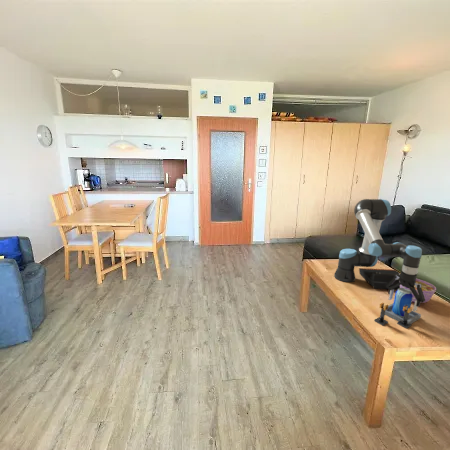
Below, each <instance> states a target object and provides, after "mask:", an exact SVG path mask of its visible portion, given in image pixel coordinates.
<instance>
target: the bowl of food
mask: <svg viewBox="0 0 450 450" xmlns="http://www.w3.org/2000/svg"><path fill="white" fill-rule="evenodd" d="M399 282H400V281H399ZM415 282H416V283H417V284H421V285H422V287H421V288H422V291H423V294H424V297H425V301H424V302H421V303H428V302H430V300H431V299H432V297H433V296H434V294H435V292H436V291H437V287H436V286H435V285H434V284H432V283H430V282H428V281H425V280H424V279H423V280H422V279H419V278H416V281H415ZM414 287H415V289H416V291H417V287H416V286H415V285H414ZM400 288H405V289H408V290H410V289H409V288H406V287H403V286H402V285H400ZM410 291H411V290H410ZM411 292H412V291H411ZM417 293H418V291H417ZM412 295H413V293H412ZM418 295H419V294H418ZM415 301H416V298H415V296H414V295H413V297H412V302H411V303H415ZM421 303H420V304H421Z"/></svg>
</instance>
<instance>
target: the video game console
mask: <svg viewBox="0 0 450 450" xmlns="http://www.w3.org/2000/svg"><path fill="white" fill-rule="evenodd" d="M358 271H359V275H360V276H362V277H363V279H364V280H366V282H367V283H368V284H370V286H371V287H372V288H373V289H378V290H379V289H380V290H389V289H388V288H387V287H386V285H387V284H388V283H389V282H390V281H391V280H392V279H393V278H394V276H396V275H398V277H400V275H401V272H399V271H397V269H387V268H368V267H359V268H358ZM398 283H400V282H399V279H398V280H396V281H395V282H394V283H393V284H392V285H391V287H392V286H394V285H396V284H398ZM398 288H400V285H399V286H397V287H395V288H393V290H395V291H397V290H398Z"/></svg>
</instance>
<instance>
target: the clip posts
mask: <svg viewBox="0 0 450 450" xmlns="http://www.w3.org/2000/svg"><path fill="white" fill-rule="evenodd" d="M389 305H390V304H385V302H382V303H379V309H380V315H379V317H377V318H375V319H374V322H375V323H377V324H379V325H381V326H385V325H388V324H389V321H388V320H386V319H385V316H386V315H385V310H387V309H388V306H389ZM407 307H408V306H407V305H405V306H403V311H405V313H404V317H403V322H402V321H399V322H398V321H396V322H397V323H396V324H397V325H399V327H400V326H401V327H402V328H404V329H406V330H407V329H409V328H410V327H412V324H413V323H412V324H407V320H408V315H409V313H410V312H412V311H413V307H412V306H411V307H410V308H408V310H407Z"/></svg>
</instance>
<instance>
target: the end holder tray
mask: <svg viewBox="0 0 450 450" xmlns="http://www.w3.org/2000/svg"><path fill="white" fill-rule="evenodd" d="M388 305H389V306H388V309H387V310H385V315H384V316H387V317H389V318H390V319H392V320H395V321H396V322H399V321H402V322H403V318H401V317H399V316H396V315H394V313H393V312H392V308H393V303H391V304H388ZM421 317H422V314H421V313H418V312H417V311H413V310H412V312H410V313H409V315H408V320H407V324H413V323H415V322H417V321H418V320H420V319H421Z"/></svg>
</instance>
